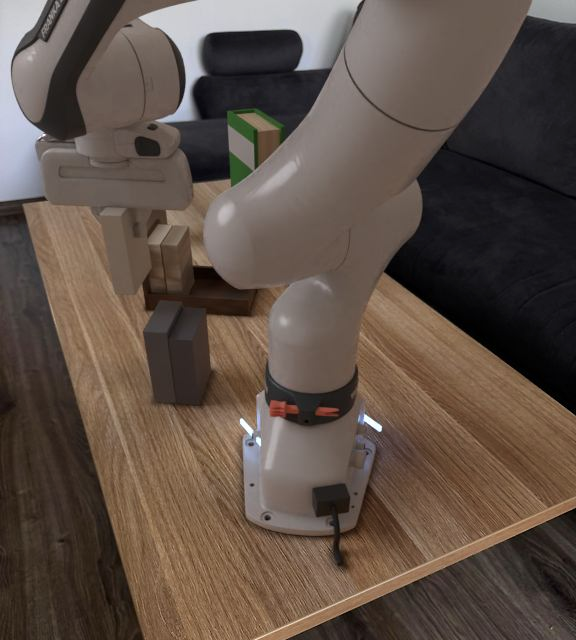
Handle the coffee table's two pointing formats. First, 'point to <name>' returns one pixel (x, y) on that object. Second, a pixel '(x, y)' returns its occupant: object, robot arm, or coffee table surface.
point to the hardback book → (251, 141)
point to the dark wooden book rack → (188, 276)
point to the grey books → (178, 353)
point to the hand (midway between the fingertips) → (126, 235)
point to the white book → (125, 249)
